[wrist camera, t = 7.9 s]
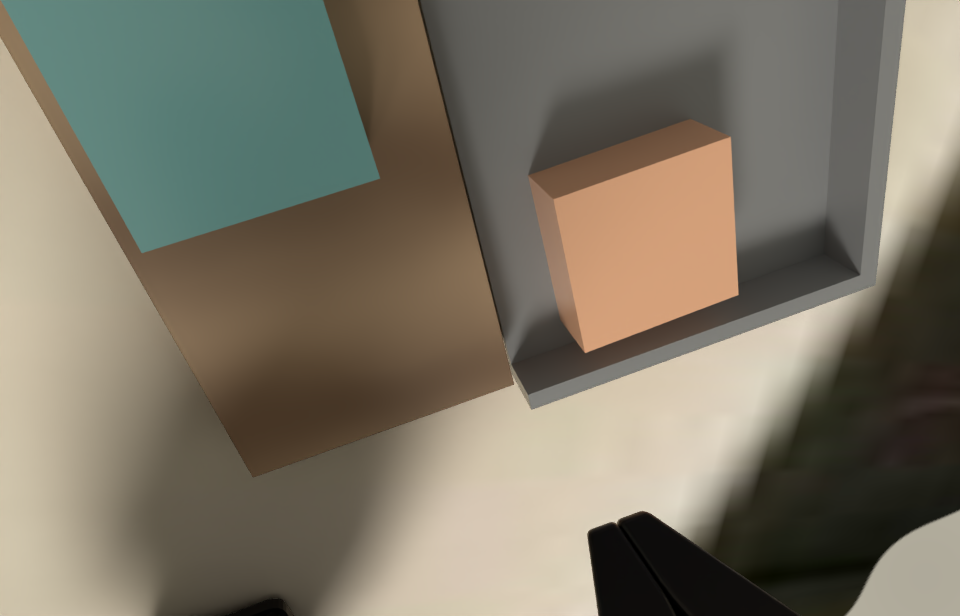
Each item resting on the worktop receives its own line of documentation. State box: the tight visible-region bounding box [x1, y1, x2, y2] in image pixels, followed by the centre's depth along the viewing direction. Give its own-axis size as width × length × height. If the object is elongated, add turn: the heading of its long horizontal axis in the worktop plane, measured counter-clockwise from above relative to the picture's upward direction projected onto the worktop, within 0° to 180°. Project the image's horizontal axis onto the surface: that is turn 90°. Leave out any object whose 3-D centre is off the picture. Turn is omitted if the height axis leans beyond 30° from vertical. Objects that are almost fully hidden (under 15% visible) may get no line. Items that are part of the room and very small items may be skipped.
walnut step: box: [0, 0, 514, 477], centre depth 17 cm, size 14×8×2 cm, turn 13°
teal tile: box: [1, 0, 380, 253], centre depth 13 cm, size 5×5×2 cm
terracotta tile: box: [528, 119, 739, 353], centre depth 19 cm, size 5×5×2 cm
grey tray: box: [418, 0, 906, 410], centre depth 18 cm, size 16×12×2 cm
